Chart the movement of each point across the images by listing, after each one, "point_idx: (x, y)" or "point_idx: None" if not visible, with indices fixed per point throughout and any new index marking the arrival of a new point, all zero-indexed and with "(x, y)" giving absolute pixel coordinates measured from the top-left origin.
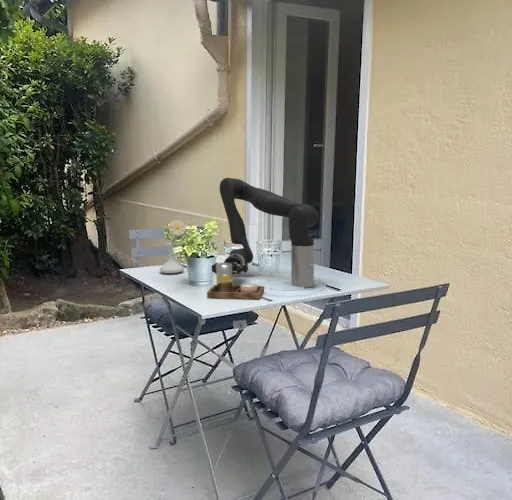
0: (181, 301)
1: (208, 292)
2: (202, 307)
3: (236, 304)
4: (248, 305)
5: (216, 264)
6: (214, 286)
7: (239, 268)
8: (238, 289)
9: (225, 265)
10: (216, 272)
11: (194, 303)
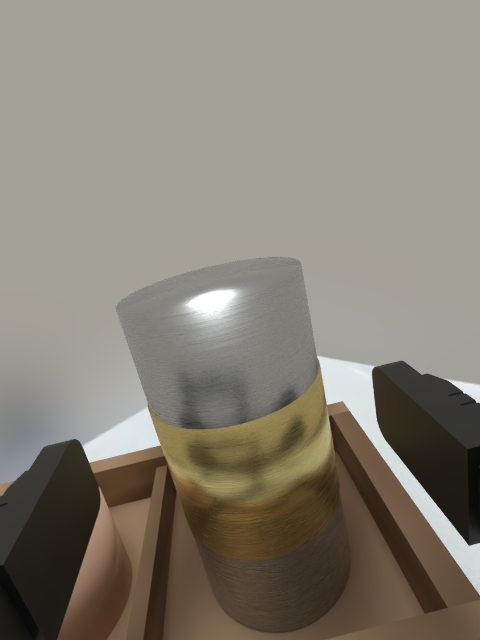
0: (462, 384)
1: (333, 405)
2: None
3: (156, 443)
4: (96, 450)
5: (291, 258)
6: (427, 553)
7: (2, 538)
8: (140, 595)
9: (183, 277)
10: (380, 409)
11: (368, 388)
